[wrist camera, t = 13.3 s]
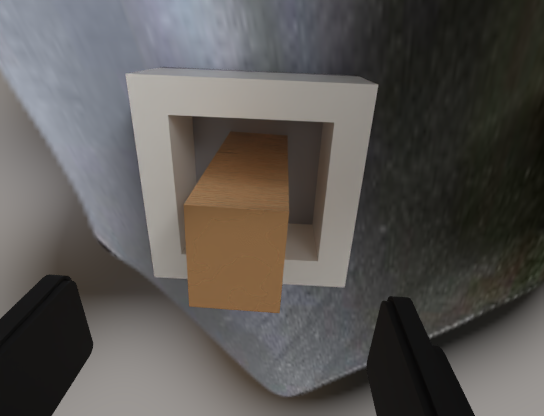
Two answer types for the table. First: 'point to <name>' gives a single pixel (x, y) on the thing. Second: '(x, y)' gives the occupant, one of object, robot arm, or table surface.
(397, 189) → the table surface
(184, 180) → the well
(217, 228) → the wooden square beam
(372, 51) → the table surface
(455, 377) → the robot arm
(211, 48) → the table surface
